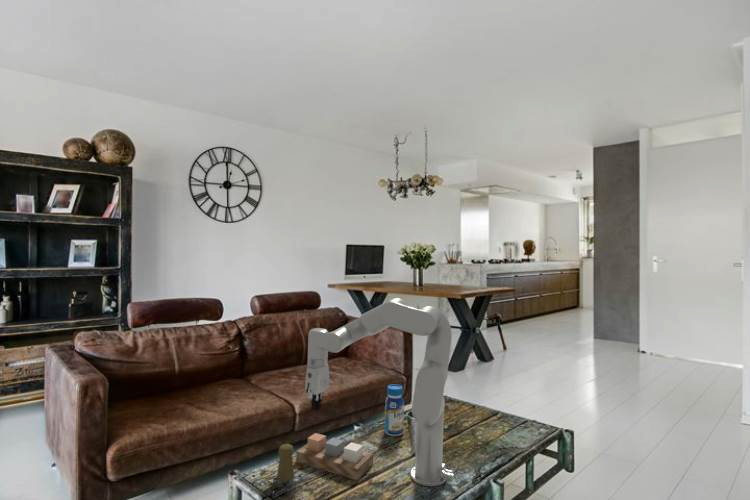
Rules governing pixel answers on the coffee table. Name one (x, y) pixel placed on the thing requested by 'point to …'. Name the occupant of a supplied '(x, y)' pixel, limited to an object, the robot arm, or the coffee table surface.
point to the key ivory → (353, 452)
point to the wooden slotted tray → (334, 462)
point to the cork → (285, 463)
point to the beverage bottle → (394, 410)
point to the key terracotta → (316, 442)
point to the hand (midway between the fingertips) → (316, 409)
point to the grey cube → (334, 447)
